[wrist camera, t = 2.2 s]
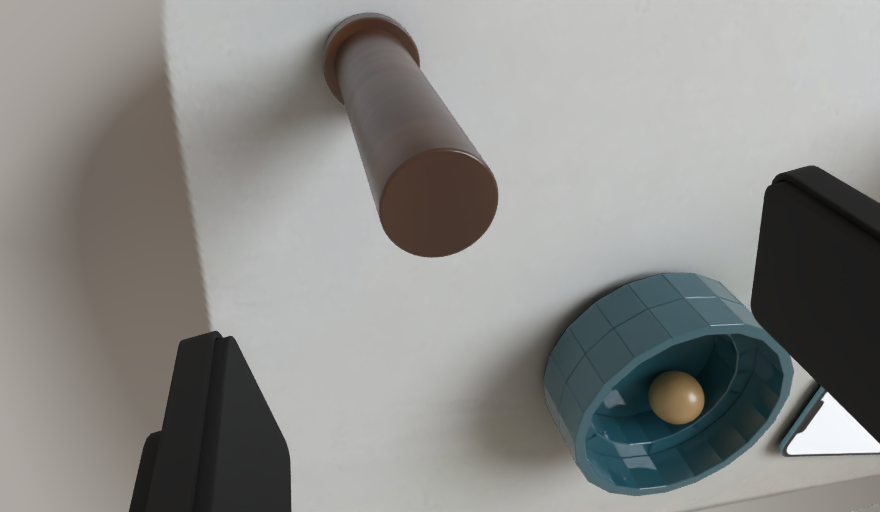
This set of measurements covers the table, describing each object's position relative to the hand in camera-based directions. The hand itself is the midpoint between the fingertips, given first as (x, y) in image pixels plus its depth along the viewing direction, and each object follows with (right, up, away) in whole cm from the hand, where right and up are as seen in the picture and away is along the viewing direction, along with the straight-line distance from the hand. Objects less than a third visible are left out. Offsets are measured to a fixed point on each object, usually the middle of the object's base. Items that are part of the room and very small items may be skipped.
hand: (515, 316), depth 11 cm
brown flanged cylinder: (-4, +8, +13) cm, 16 cm away
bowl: (+10, -5, +26) cm, 28 cm away
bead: (+12, -7, +25) cm, 29 cm away
